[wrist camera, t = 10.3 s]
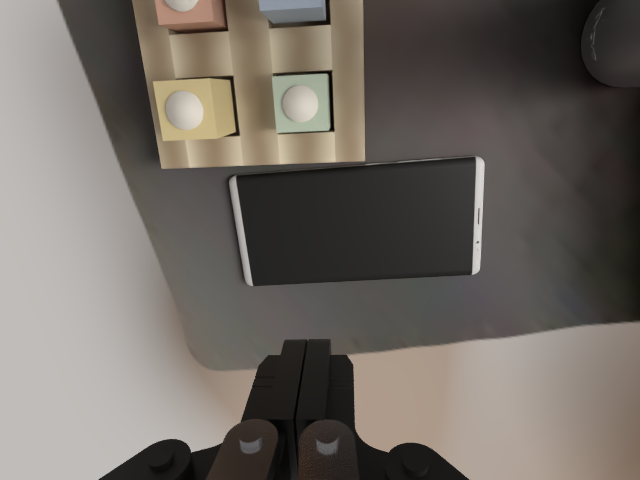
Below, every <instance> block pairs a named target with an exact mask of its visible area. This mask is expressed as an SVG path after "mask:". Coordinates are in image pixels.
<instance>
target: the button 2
mask: <svg viewBox="0 0 640 480" xmlns="http://www.w3.org/2000/svg"><path fill="white" fill-rule="evenodd" d="M153 86H154V92H155V98H156V103H157V109H158V115H159V121H160V127H161V133H162V138H163V141H175V140H197V139H218V138H221V137H223V136H226V135H229V134H232V133H234V132H236V128H235V119H234V110H233V101H232V93H231V84H230V80H222V79H212V78H206V79H188V80H170V81H153Z"/></svg>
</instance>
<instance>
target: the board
mask: <svg viewBox="0 0 640 480" xmlns="http://www.w3.org/2000/svg"><path fill="white" fill-rule="evenodd" d="M132 3H133V9H134V14H135V20H136V26H137V31H138V37H139V43H140V48H141V54H142V60H143V65H144V71H145V77H146V82H147V88H148V94H149V99H150V105H151V111H152V116H153V122H154V128H155V133H156V139H157V145H158V150H159V156H160V162H161V167H162V169H171V168H196V167H222V166H248V165H274V164H299V163H325V162H351V161H365V121H364V38H363V0H325V7H326V20H323V21H307V22H292V23H276V24H273V23H272V22H271V21H270V20H269V19H268V18H267V17H266V16H265V15H263V14H262V13H261V12H260V7H259V0H225V4H226V13H227V22H228V31H225V32H209V33H194V34H183V33H180V32H177V31H175V30H172V29H169V28H166V27H163V26H160V25H159V24H158V17H157V11H156V5H155V0H132ZM309 74H328V75H329V78H330V104H331V127H330V129H329V131H307V132H285V133H276V121H275V109H274V97H273V84H272V77H273V76H291V75H309ZM206 78H212V79H222V80H230V84H231V93H232V101H233V110H234V119H235V128H236V132H234V133H232V134H229V135H226V136H223V137H221V138H218V139H197V140H175V141H163V138H162V133H161V127H160V121H159V115H158V109H157V103H156V98H155V92H154V86H153V81H170V80H188V79H206Z"/></svg>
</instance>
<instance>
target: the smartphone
mask: <svg viewBox="0 0 640 480" xmlns="http://www.w3.org/2000/svg"><path fill="white" fill-rule="evenodd" d="M229 187H230V193H231V199H232V205H233V211H234V217H235V223H236V229H237V235H238V241H239V247H240V253H241V259H242V265H243V271H244V277H245V281H246V283H247V284H248V285H250V286H264V285H283V284H303V283H322V282H342V281H361V280H380V279H400V278H419V277H439V276H458V275H473V274H476V273H477V272H478V271H479V269H480V258H481V235H482V211H483V188H484V161H483V160H482V159H481V158H480V157H478V156H465V157H452V158H436V159H423V160H410V161H399V162H388V163H372V164H363V165H350V166H337V167H324V168H312V169H299V170H286V171H274V172H261V173H248V174H237V175H234V176H233V177H232V178H231V179H230V181H229Z"/></svg>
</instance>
